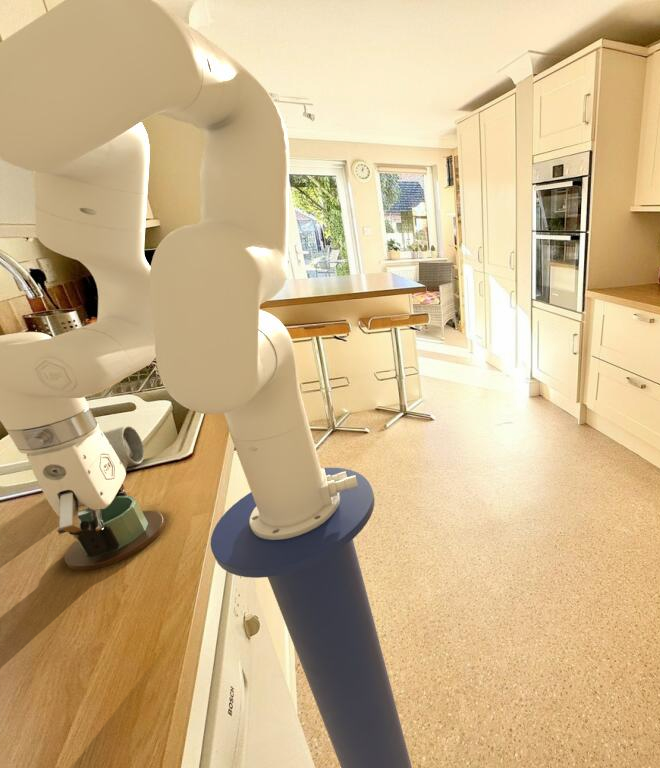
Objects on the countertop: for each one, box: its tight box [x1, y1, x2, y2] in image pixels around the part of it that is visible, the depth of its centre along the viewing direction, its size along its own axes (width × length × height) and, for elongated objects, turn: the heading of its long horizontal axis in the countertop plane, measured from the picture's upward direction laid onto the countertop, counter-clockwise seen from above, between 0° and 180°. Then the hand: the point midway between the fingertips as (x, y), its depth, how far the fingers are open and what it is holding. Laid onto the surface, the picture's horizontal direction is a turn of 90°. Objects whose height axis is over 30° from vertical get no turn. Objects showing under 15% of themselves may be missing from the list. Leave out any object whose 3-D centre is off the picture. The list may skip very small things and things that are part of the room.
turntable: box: [63, 510, 166, 571], centre depth 61 cm, size 11×11×1 cm
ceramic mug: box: [102, 425, 145, 471], centre depth 76 cm, size 11×8×8 cm
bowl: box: [57, 495, 148, 555], centre depth 60 cm, size 8×7×4 cm
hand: (113, 532), depth 60 cm, fingers closed on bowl, 7 cm apart
